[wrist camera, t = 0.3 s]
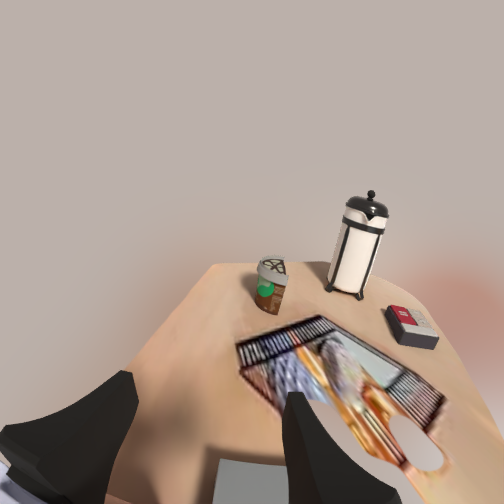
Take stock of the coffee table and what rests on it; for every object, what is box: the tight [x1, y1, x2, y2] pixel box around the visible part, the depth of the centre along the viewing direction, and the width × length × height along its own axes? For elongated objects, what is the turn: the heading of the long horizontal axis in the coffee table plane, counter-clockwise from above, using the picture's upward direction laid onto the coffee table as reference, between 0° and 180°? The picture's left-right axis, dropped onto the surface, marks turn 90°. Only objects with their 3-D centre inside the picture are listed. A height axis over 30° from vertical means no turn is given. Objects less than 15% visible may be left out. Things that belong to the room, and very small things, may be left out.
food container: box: [255, 256, 288, 315], centre depth 62 cm, size 12×6×10 cm, turn 177°
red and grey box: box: [385, 305, 439, 350], centre depth 60 cm, size 11×4×15 cm
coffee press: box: [326, 190, 389, 301], centre depth 76 cm, size 17×16×30 cm
